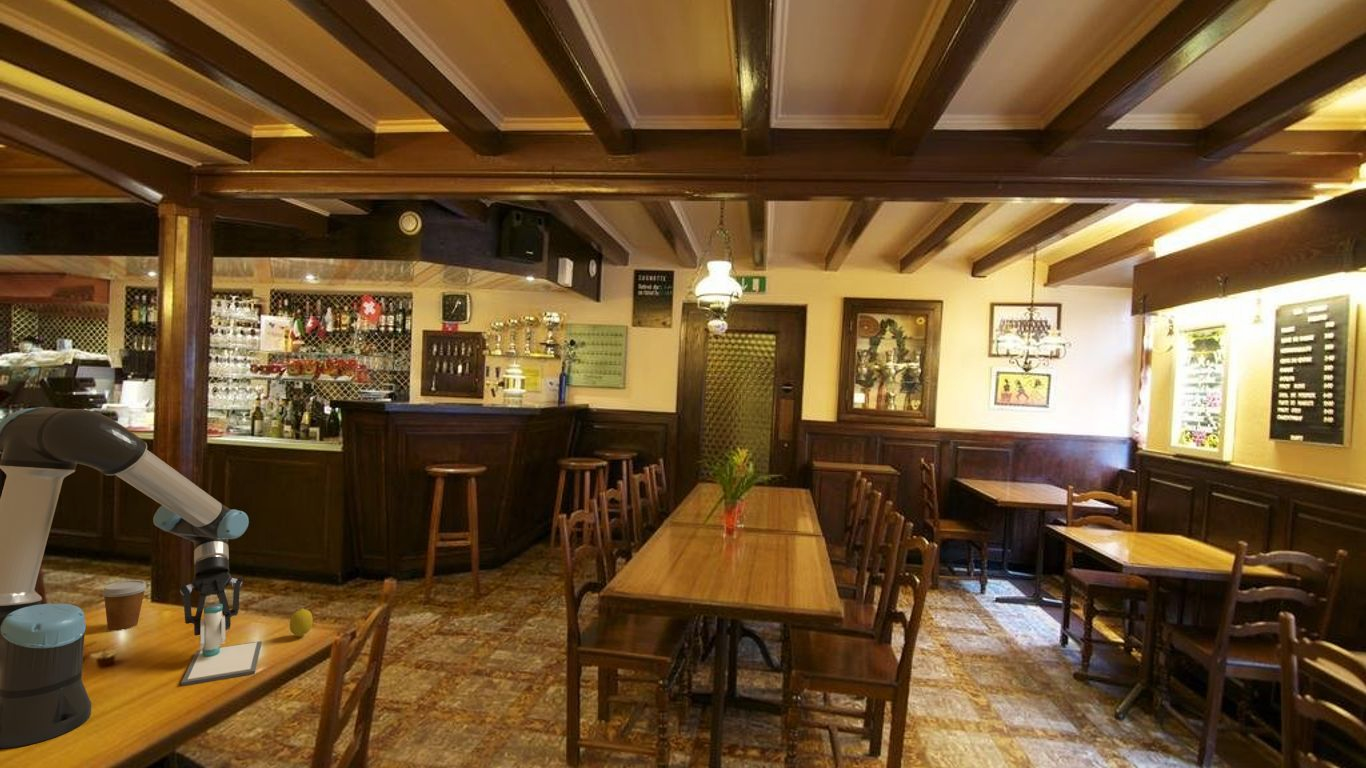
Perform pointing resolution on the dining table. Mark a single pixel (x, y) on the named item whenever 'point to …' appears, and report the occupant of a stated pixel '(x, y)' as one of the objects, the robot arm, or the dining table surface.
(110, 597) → the disposable coffee cup
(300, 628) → the lemon
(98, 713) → the dining table surface
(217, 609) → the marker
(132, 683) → the dining table surface
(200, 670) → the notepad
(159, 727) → the dining table surface
